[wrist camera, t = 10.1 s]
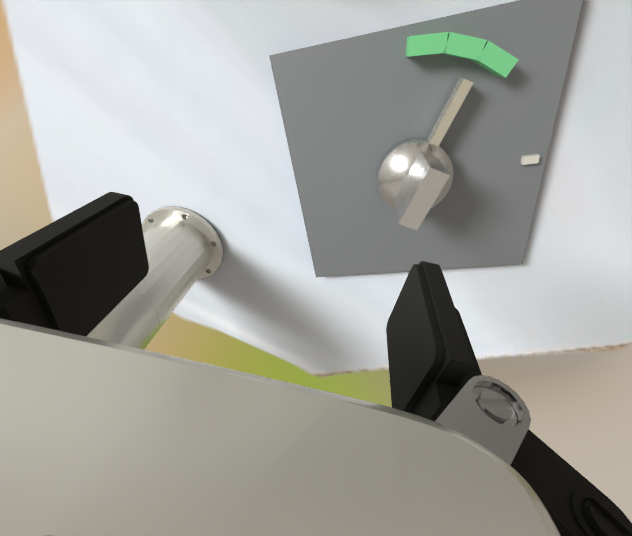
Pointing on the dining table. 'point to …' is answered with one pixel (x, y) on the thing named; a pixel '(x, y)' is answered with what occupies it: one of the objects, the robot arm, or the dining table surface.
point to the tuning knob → (420, 167)
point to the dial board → (426, 133)
